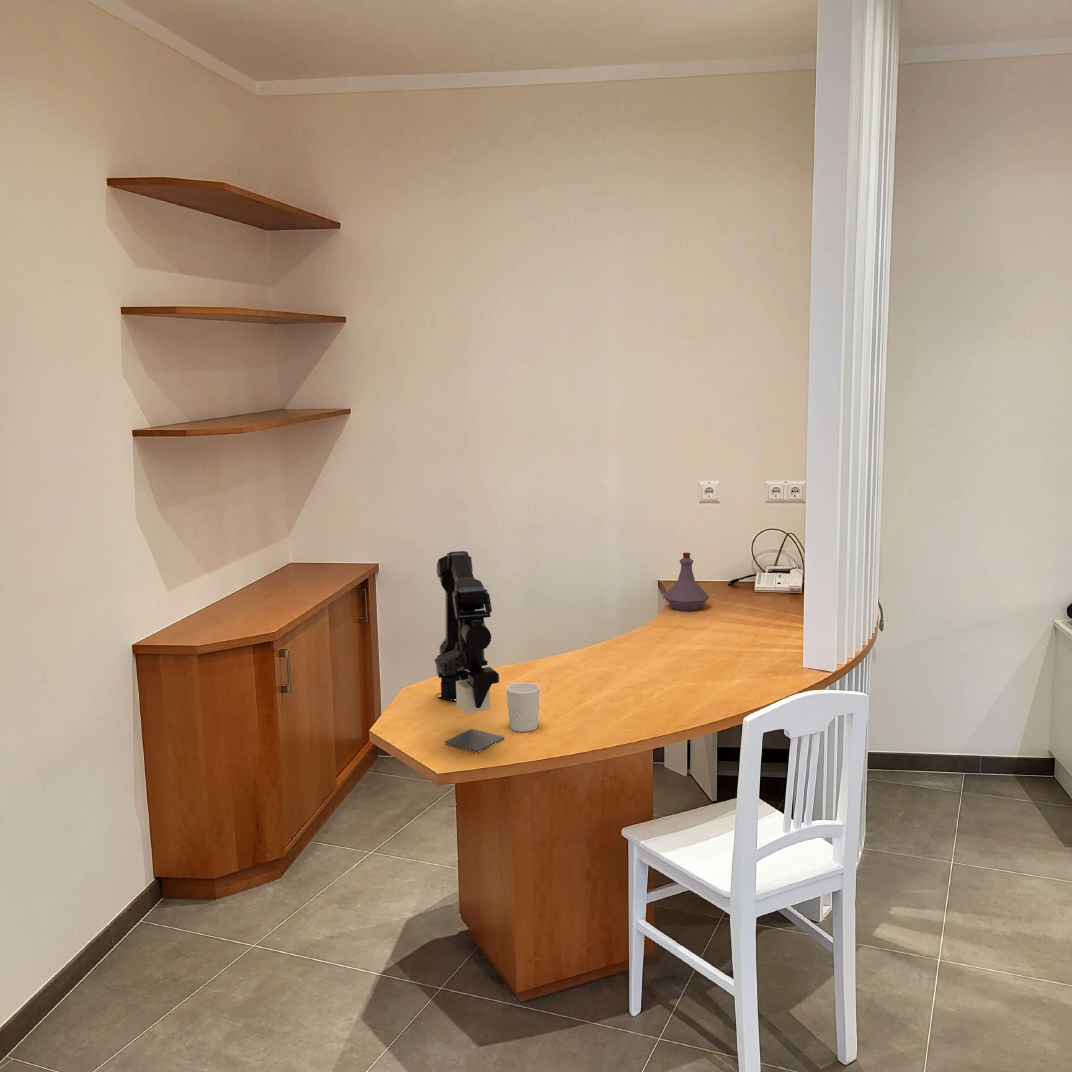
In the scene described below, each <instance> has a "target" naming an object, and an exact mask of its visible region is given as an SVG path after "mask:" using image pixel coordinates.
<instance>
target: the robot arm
mask: <svg viewBox="0 0 1072 1072" xmlns="http://www.w3.org/2000/svg"><path fill="white" fill-rule="evenodd" d="M473 571H474V569H473V560H472V557H471V556H470V555H469V552H468V551H465V550H462V551H461V550H460V551H459V550H458V551H449V552H447V553H446V555H444V556H443V557H441V558H439V559H438V560H437V563H436V575H437V578H438V579H439V581H440V585H441V587H442V588H443V590H444V592H445V639H444V640H443V641H442V643H441V644H440V646H439V654H438V655H436V658H435V659H434V662H435V670H436V674H437V675H436V676H437V677H438V678H439V679H441V680H440V681H441V682H440V694H441V697H442V698H446V699H452V700H454V699H456V681H460V680H466V679H468V680H469V681H466V682H467V683H468V684H469V685H470V686H471V687H472V690H473V696H474V701H475V706H476V708H480V707H481V706H482V703H483V701H484V699H485V697H486V695H487V692H488V690H489V691H490V689H491V686H492V685H495V684H499V683H500V674H499V673H498V672H497V671H496V670H494V669H493V668H492V667H491V666H488V660H486V658H485V649H488V646H490V643H491V642H492V634H491V631H490V629H489V628H488V627H487V625H486V624H485V618H491V613H492V610H493V608H492V603H491V602H492V601H491V597H490V593H488V589H487V588H485V587H484V585H483V582H482V581H481V580H479V579H477V578H475V577H474V573H473ZM485 666H487V667H485ZM442 698H441V699H442ZM446 699H445V700H446Z"/></svg>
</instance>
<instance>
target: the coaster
mask: <svg viewBox="0 0 1072 1072" xmlns="http://www.w3.org/2000/svg"><path fill="white" fill-rule="evenodd" d="M504 739H506V738H505V736H502V735H499V734H494V733H490V732H487V731H482V730H479V729H478V730H477V729H474V728H470V729H468V730H466V731H464V732H462V733H460V734H457V735H455V736H454V737H451V738H449V739H447V740H444V743H446V744H449V745H453V746H456V747H455V748H457V747H459V748H458V749H460V748H464V749H467V750H466V751H468V750H471V751H470V752H472V751H474V752H473V753H475V752H477V753H476V754H479V753H480V752H479V751H481V750H483V751H485V750H487V749H488V748H487V747H489V746H491V745H493V744H495V743H497V744H499V743H500V742H499V741H501V740H503V741H504ZM498 742H499V743H498ZM501 742H502V741H501ZM444 743H443V744H444ZM446 744H445V745H446ZM449 745H448V746H449ZM495 745H496V744H495ZM453 746H452V747H453ZM493 746H494V745H493ZM491 747H492V746H491ZM486 748H487V749H486ZM489 748H490V747H489ZM464 749H463V750H464ZM484 749H485V750H484ZM478 752H479V753H478ZM481 752H482V751H481Z"/></svg>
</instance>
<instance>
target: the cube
mask: <svg viewBox="0 0 1072 1072" xmlns="http://www.w3.org/2000/svg"><path fill="white" fill-rule="evenodd" d="M466 681H469V680H468V679H466V680H460V681H456V700H457V701H456V707H458V709H460V710H461V711H462V712H463V713H464V714H465V715H466V714H471V713H477V712H483V711H489V710H491V704H490V703H491V698H490V697H491V696H490V695H491V694H490V691H491V690H490V689H489V690H488V692H487V695H486V697H485V699H484V701H483V703H482V706H481V707H480V708H476V706H475V701H474V696H473V690H472V687H471V686H470V685H469V684H468V683H467V682H466Z"/></svg>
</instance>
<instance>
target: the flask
mask: <svg viewBox="0 0 1072 1072" xmlns="http://www.w3.org/2000/svg"><path fill="white" fill-rule="evenodd" d="M682 556H683V557H682V558H681V559H680V560H679V563H680V572H679V575H678V578H677V581H675V582H674V584H673V585H672V586H671V587H670V588H669V589H668V590H667V591H666V593H664V594H663V596H662V597H663V598H664V600H666V601H667V602H668V604H669V605H670V606H671V608H673V609H674V610H676V611H680V612H694V611H695V612H696V611H697V610H699V609H701V607H702V606H703V605H704V604H705V603H706V601H707V600H708V599H710V596H709V594H708V593H707V592H705V590H704V589H703V588H702V587H701V586H700V585H699V583H698V582H697V581H696V578H695V576H694V573H693V567H692V565H693V563H694V560H693V559H692V558H691V552H683V553H682Z"/></svg>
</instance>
